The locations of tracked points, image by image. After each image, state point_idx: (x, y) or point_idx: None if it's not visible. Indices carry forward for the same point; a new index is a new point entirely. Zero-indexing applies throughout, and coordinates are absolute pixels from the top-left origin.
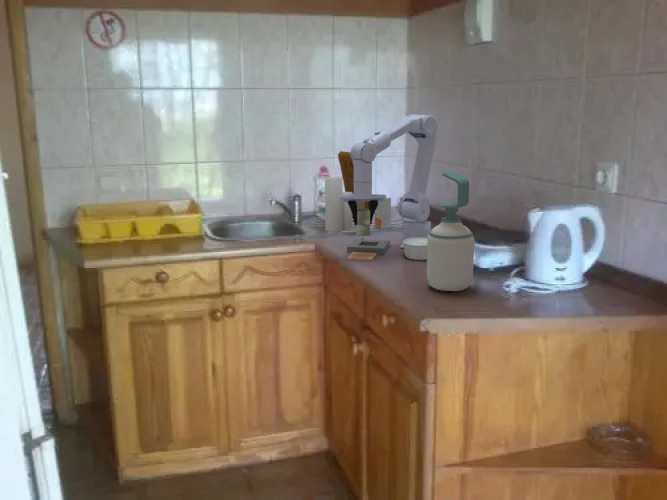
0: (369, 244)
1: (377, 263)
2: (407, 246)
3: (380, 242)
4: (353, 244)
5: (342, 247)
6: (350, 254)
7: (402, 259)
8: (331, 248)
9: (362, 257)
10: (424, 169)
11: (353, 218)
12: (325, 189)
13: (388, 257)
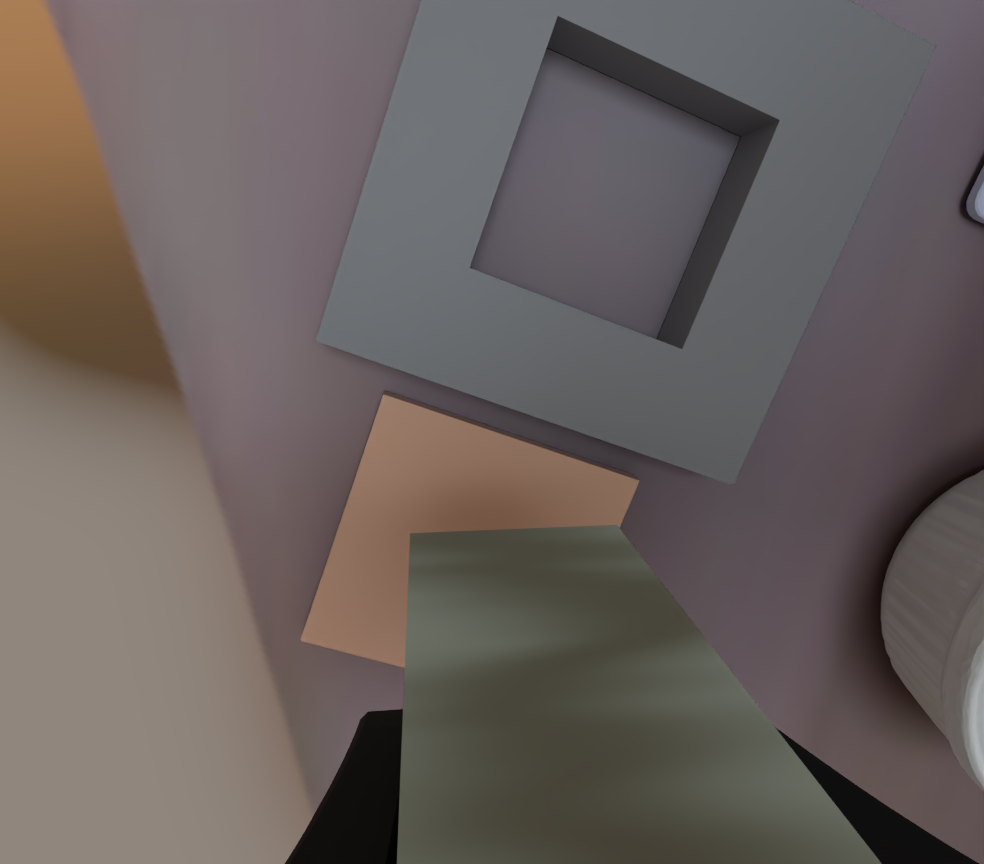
0: (645, 74)
1: None
2: (954, 751)
3: (788, 150)
4: (412, 213)
5: (282, 10)
6: (348, 510)
7: (819, 659)
8: (123, 46)
9: None
10: None
11: (330, 805)
12: None
13: (720, 580)
